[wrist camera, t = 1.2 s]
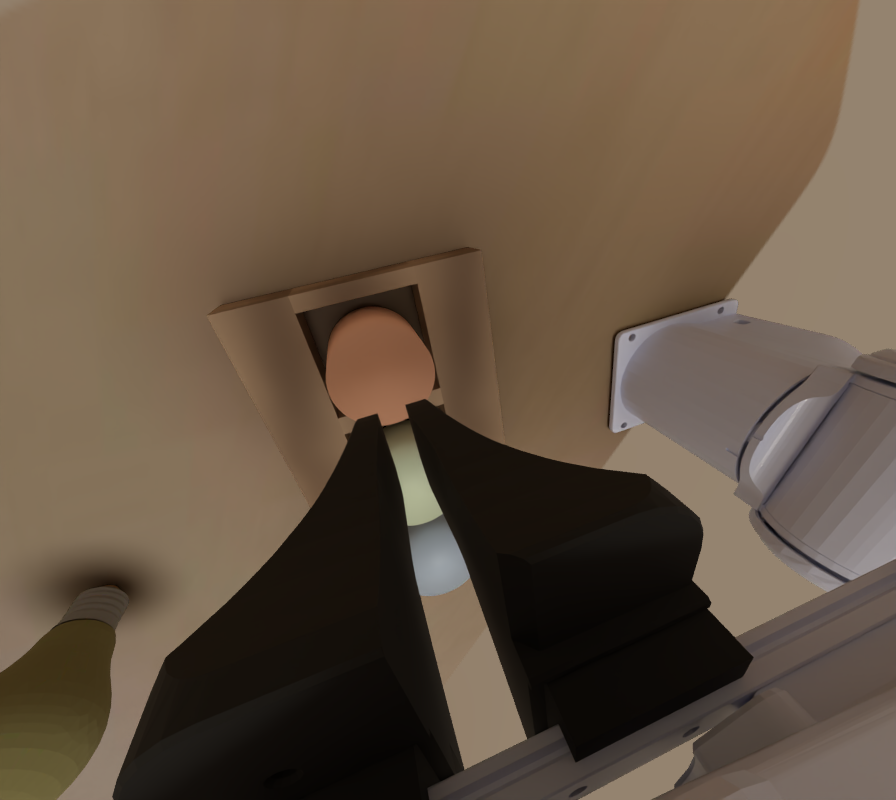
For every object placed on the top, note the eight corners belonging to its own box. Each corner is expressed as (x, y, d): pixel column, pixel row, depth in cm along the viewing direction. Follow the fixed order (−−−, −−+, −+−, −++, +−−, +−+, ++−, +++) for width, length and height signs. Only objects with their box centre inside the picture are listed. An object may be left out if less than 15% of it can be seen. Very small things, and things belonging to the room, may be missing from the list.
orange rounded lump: (406, 296, 16) (422, 313, 13) (426, 378, 19) (443, 408, 16) (313, 319, 16) (308, 343, 13) (344, 402, 18) (346, 438, 15)
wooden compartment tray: (467, 247, 18) (481, 250, 16) (505, 515, 28) (516, 534, 26) (220, 305, 16) (206, 315, 14) (356, 570, 26) (358, 595, 24)
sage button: (433, 410, 20) (451, 444, 17) (447, 468, 22) (465, 508, 19) (357, 434, 19) (361, 474, 16) (379, 492, 21) (387, 536, 18)
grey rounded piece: (453, 492, 23) (471, 533, 20) (463, 536, 25) (481, 579, 22) (388, 515, 22) (397, 561, 19) (405, 558, 24) (414, 605, 21)
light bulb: (177, 609, 23) (82, 844, 14) (69, 629, 21) (-113, 908, 12) (154, 549, 20) (22, 788, 12) (29, 566, 19) (-230, 859, 10)
